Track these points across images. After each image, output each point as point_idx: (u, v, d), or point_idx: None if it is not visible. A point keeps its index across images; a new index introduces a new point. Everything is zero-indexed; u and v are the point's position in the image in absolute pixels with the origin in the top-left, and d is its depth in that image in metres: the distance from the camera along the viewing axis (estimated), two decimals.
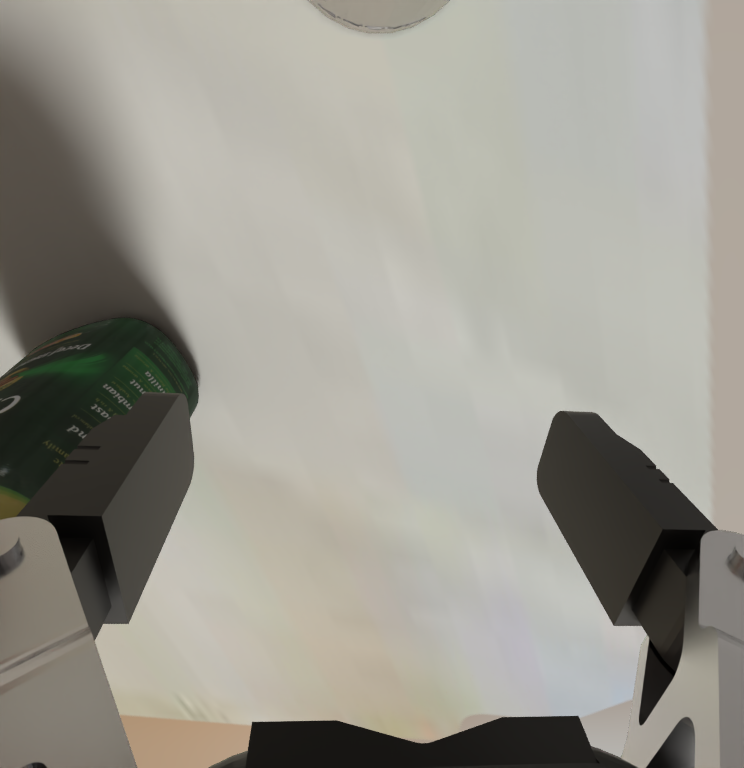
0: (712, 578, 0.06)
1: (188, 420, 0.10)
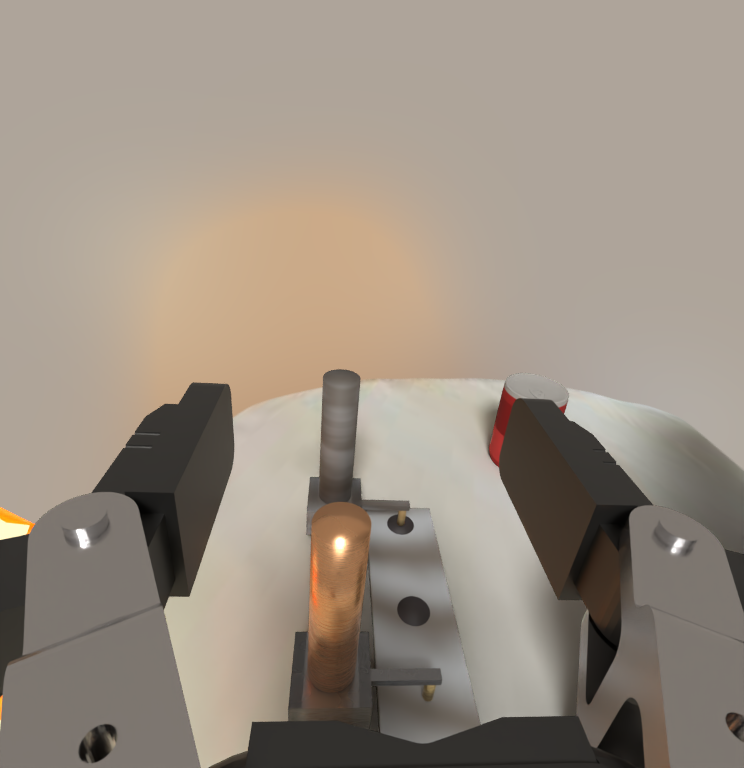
0: (642, 554, 0.06)
1: (231, 410, 0.10)
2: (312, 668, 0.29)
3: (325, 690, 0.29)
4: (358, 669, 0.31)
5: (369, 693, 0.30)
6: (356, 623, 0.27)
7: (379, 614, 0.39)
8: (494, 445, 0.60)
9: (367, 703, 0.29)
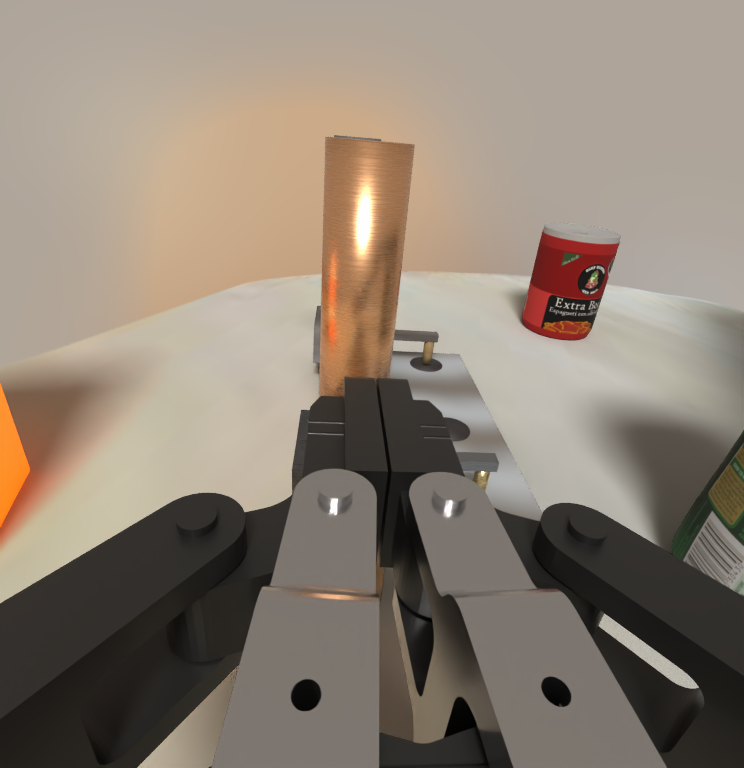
0: (429, 531, 0.06)
1: None
2: None
3: None
4: None
5: None
6: (388, 333, 0.19)
7: None
8: (529, 307, 0.51)
9: None
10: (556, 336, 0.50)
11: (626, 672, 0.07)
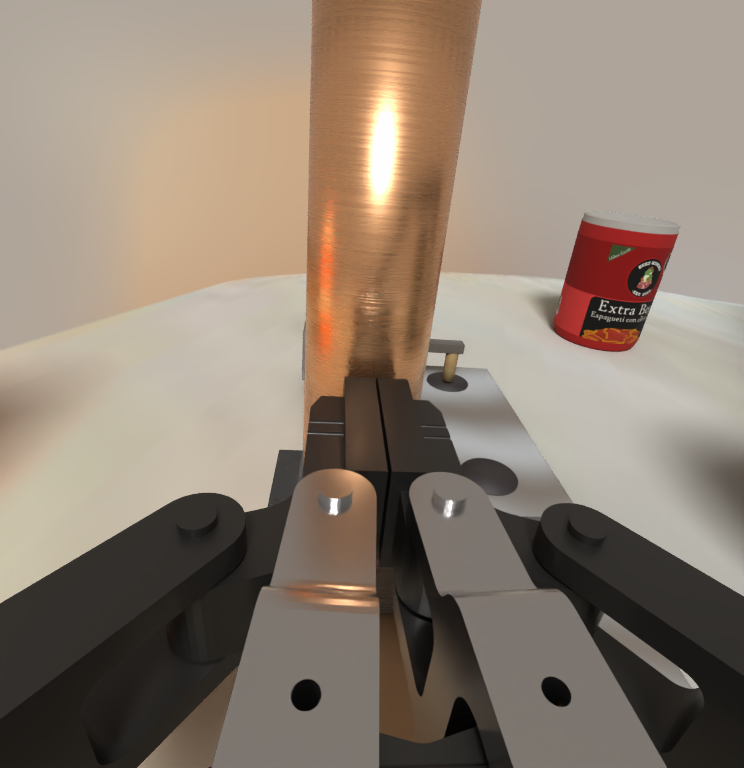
0: (429, 531, 0.06)
1: None
2: None
3: None
4: None
5: None
6: (423, 335, 0.11)
7: None
8: (564, 311, 0.43)
9: None
10: (598, 346, 0.42)
11: (626, 672, 0.07)
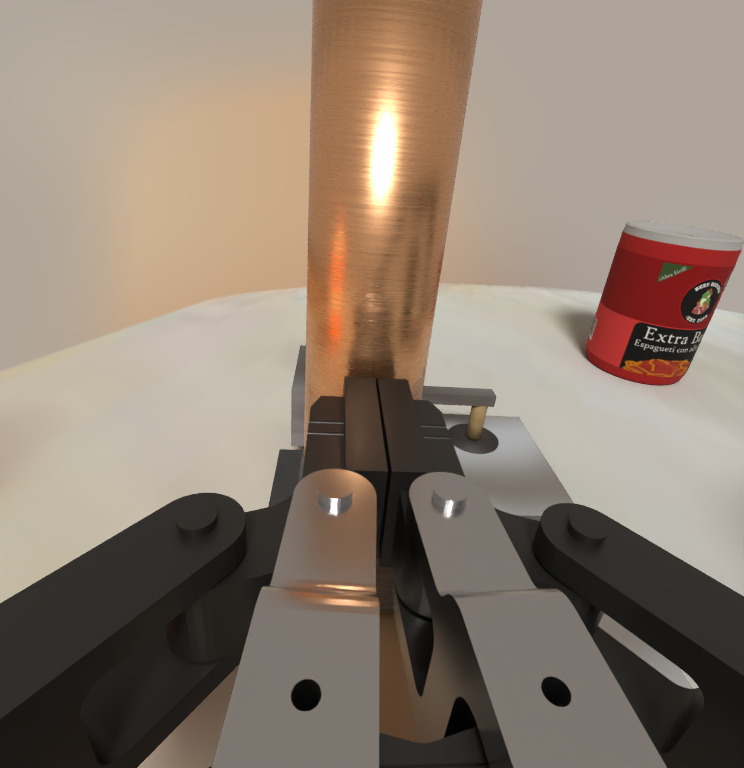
0: (429, 531, 0.06)
1: None
2: None
3: None
4: None
5: None
6: (423, 335, 0.11)
7: None
8: (601, 337, 0.37)
9: None
10: (642, 380, 0.35)
11: (626, 672, 0.07)
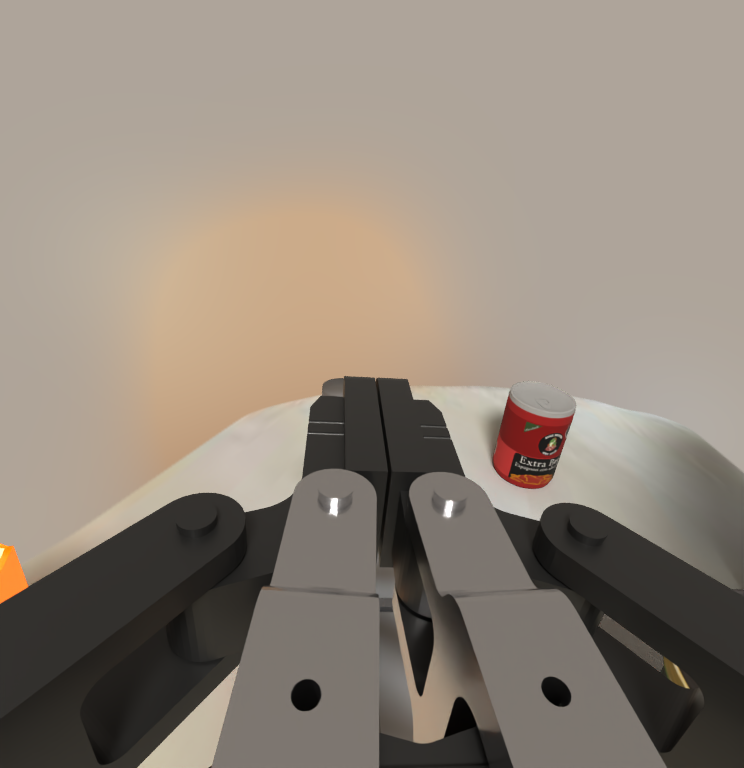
0: (429, 531, 0.06)
1: None
2: None
3: None
4: None
5: None
6: None
7: (381, 637, 0.37)
8: (498, 456, 0.58)
9: None
10: (521, 485, 0.56)
11: (626, 672, 0.07)
